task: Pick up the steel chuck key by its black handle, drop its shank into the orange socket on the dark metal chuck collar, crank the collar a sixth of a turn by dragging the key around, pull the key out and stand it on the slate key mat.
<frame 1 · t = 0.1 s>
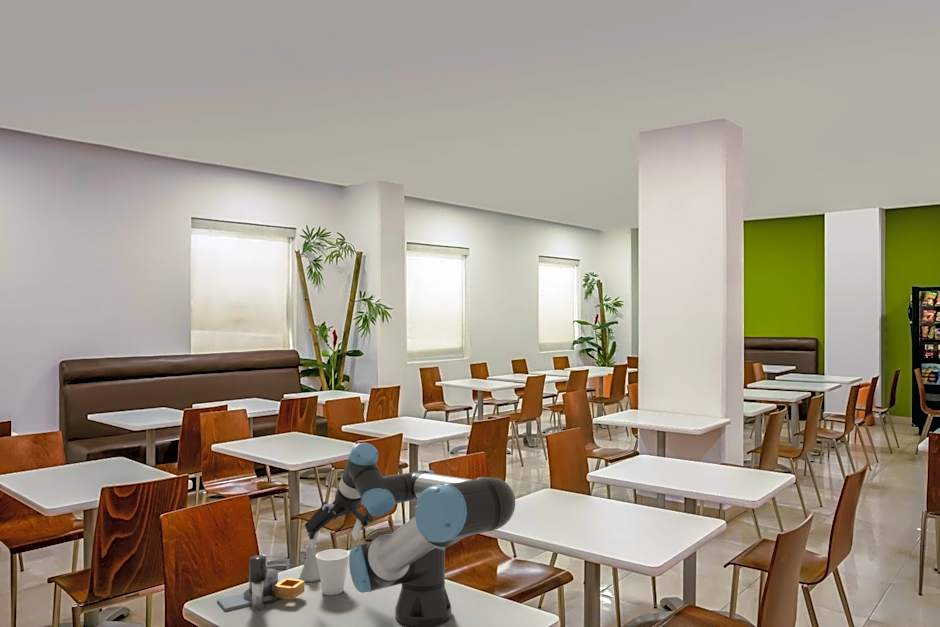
hand: (332, 540, 207), 15 cm above the table, tool tilted 35°, fingers open, 13 cm apart
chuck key: (257, 608, 196), on the table
cup: (332, 592, 208), on the table
key mat: (235, 603, 199), on the table
dark grey disc: (263, 596, 204), on the table
flask: (311, 579, 219), on the table
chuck: (275, 574, 203), point 7 cm above the table, hinge at 0.0°
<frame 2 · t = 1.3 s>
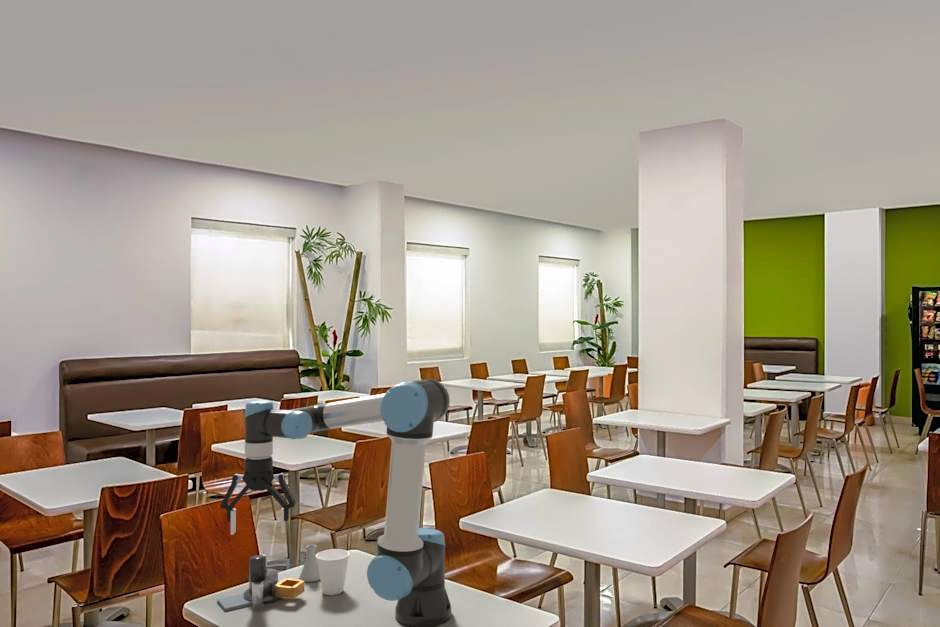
hand: (258, 532, 196), 21 cm above the table, tool pointing down, fingers open, 13 cm apart
nothing on the table moved.
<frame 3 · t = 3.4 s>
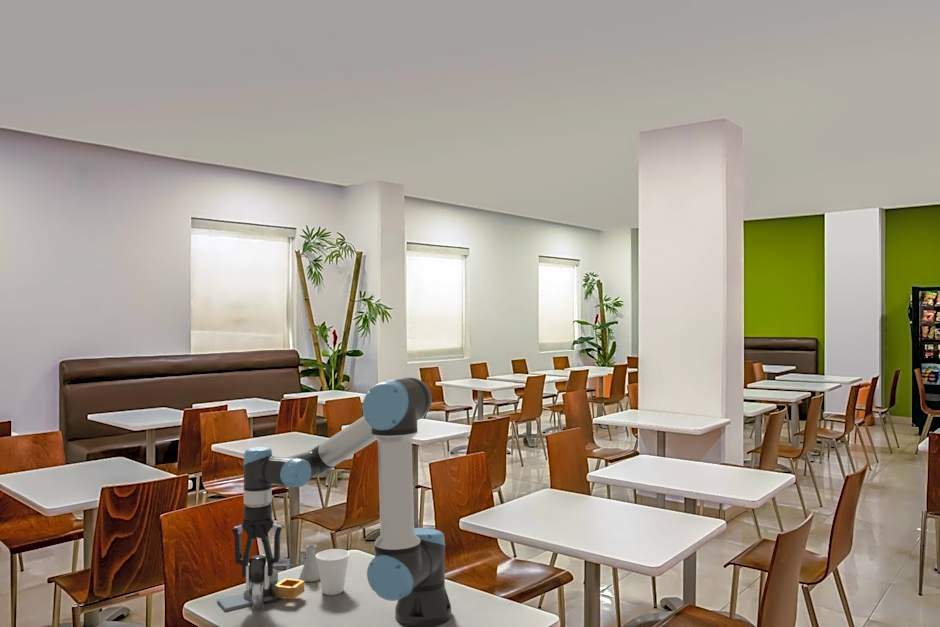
hand: (257, 587, 196), 6 cm above the table, tool pointing down, fingers closed on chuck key, 4 cm apart
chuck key: (257, 608, 196), on the table, touching gripper
everything else where it was.
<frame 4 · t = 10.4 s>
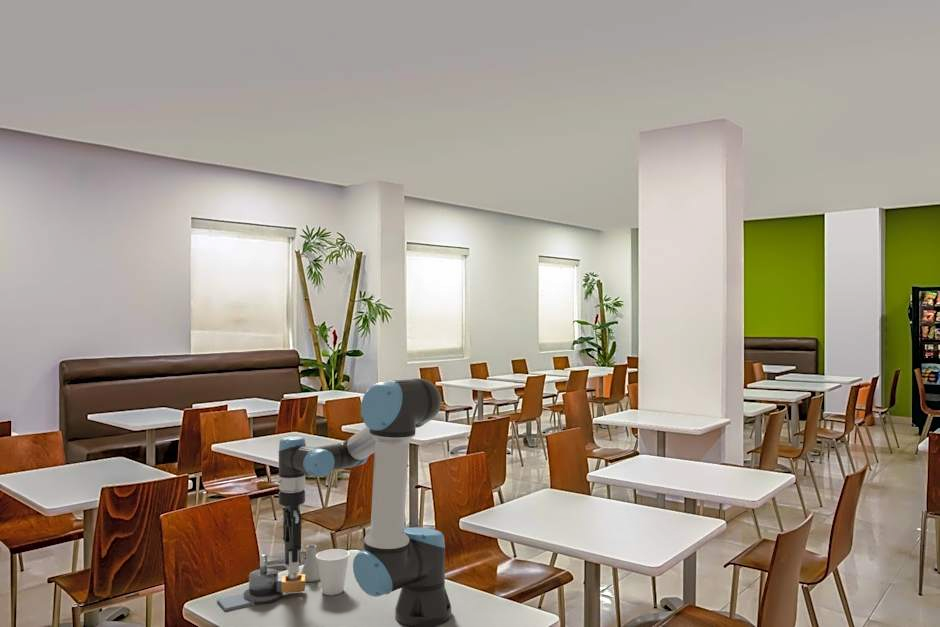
hand: (291, 569, 207), 7 cm above the table, tool pointing down, fingers closed on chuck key, 5 cm apart
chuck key: (293, 591, 206), point 1 cm above the table, tilted 8°, touching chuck, gripper
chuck: (277, 572, 205), point 7 cm above the table, hinge at 26.5°, touching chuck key
everything else where it was.
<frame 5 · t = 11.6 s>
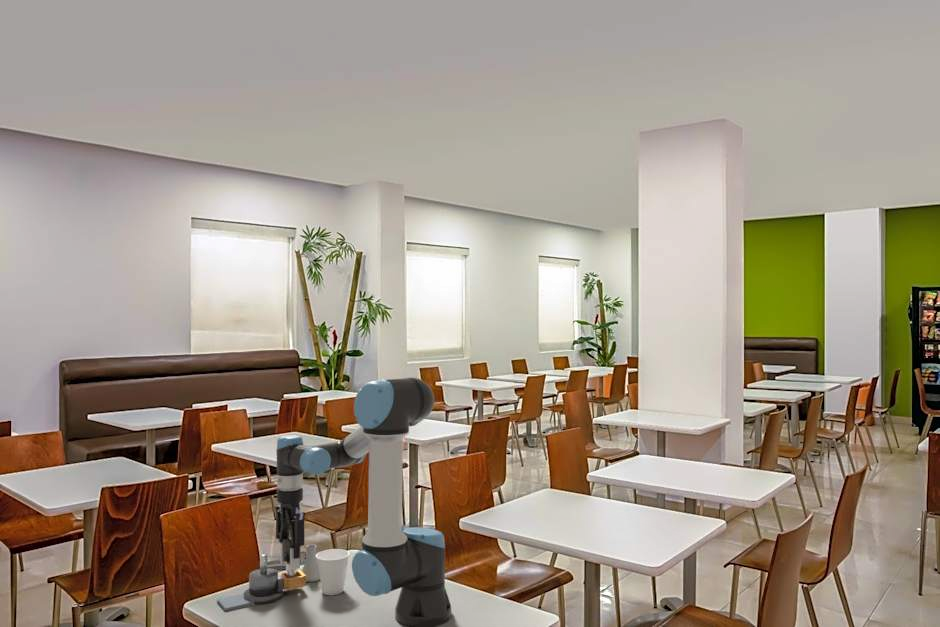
hand: (290, 566, 210), 7 cm above the table, tool pointing down, fingers closed on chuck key, 5 cm apart
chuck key: (291, 587, 208), point 1 cm above the table, tilted 9°, touching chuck, gripper
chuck: (276, 570, 206), point 7 cm above the table, hinge at 46.3°, touching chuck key
everything else where it was.
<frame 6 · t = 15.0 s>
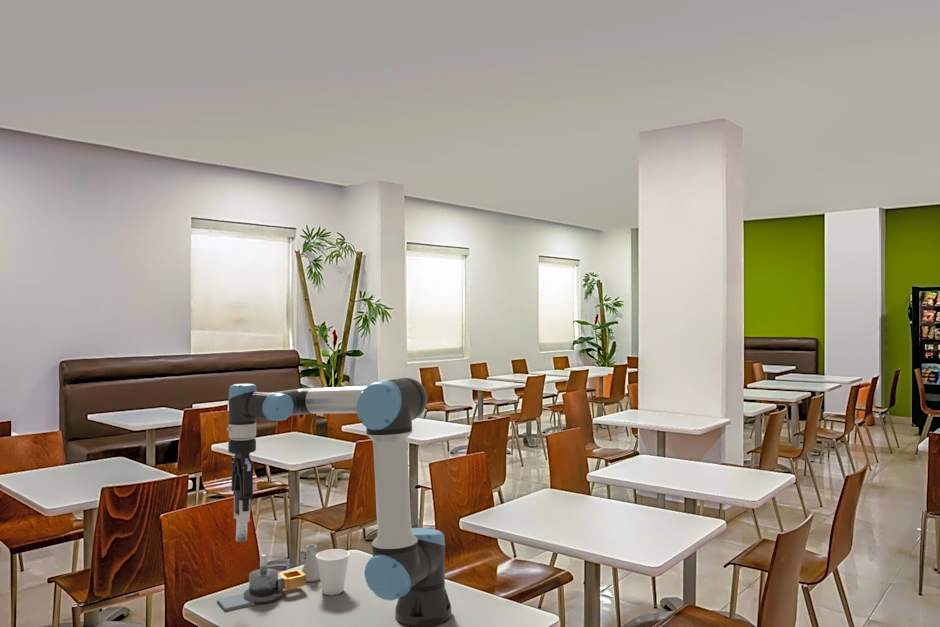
hand: (241, 519, 201), 23 cm above the table, tool pointing down, fingers closed on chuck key, 5 cm apart
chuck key: (241, 540, 200), point 17 cm above the table, touching gripper
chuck: (276, 570, 206), point 7 cm above the table, hinge at 49.8°
everything else where it was.
when the fingers open (7 cm above the table, at t = 18.3 s): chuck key stays where it is, resting on key mat.
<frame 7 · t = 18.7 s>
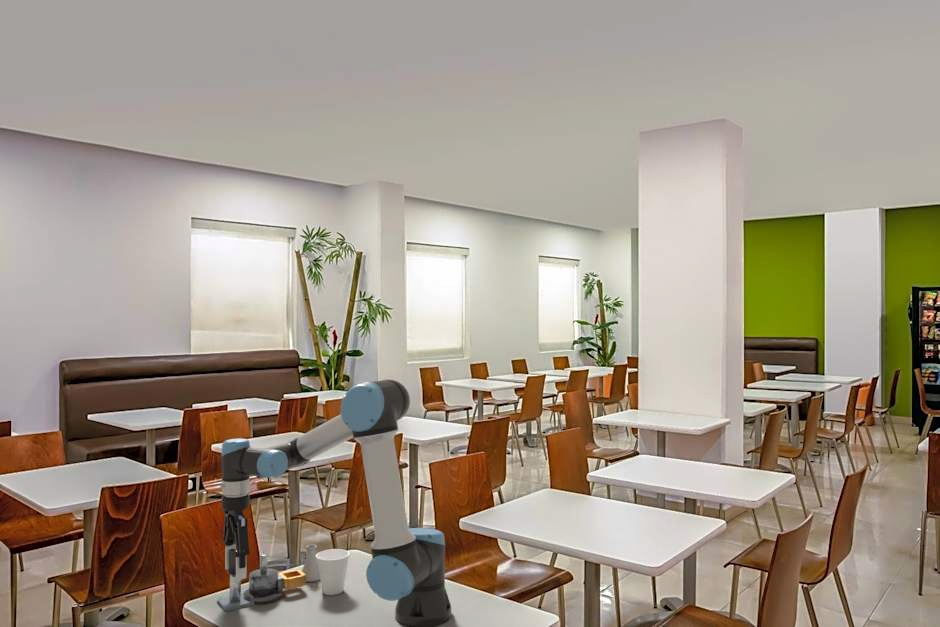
hand: (235, 573, 199), 8 cm above the table, tool pointing down, fingers open, 9 cm apart
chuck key: (234, 600, 199), point 1 cm above the table, touching key mat
everything else where it was.
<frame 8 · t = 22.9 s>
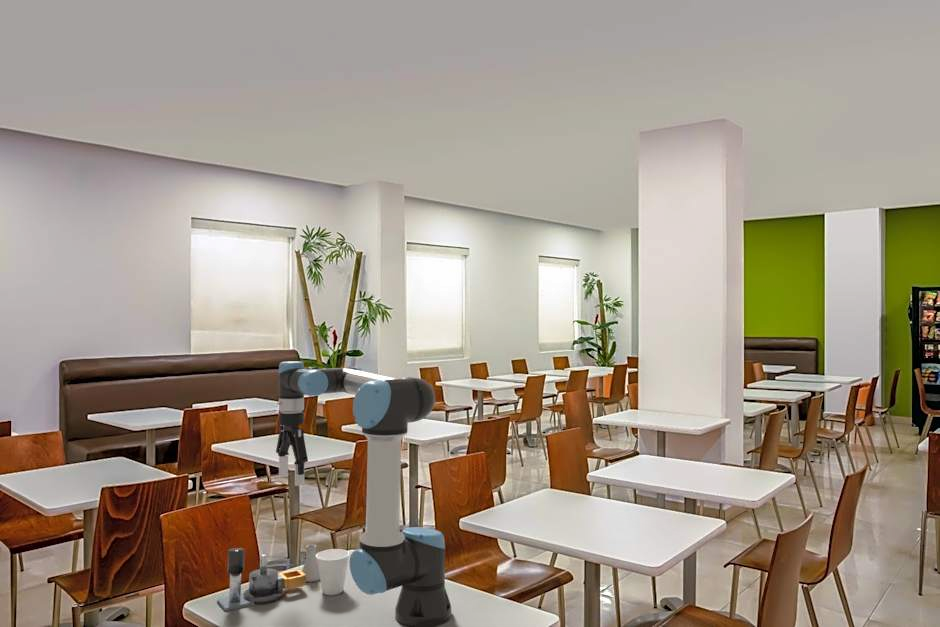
hand: (291, 481, 216), 31 cm above the table, tool pointing down, fingers open, 13 cm apart
nothing on the table moved.
at the end: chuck at +50° (first picture: +0°); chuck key inside the target area on the key mat (0.2 cm from its centre), point 0.8 cm above the key mat's base; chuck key tilted 1° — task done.
